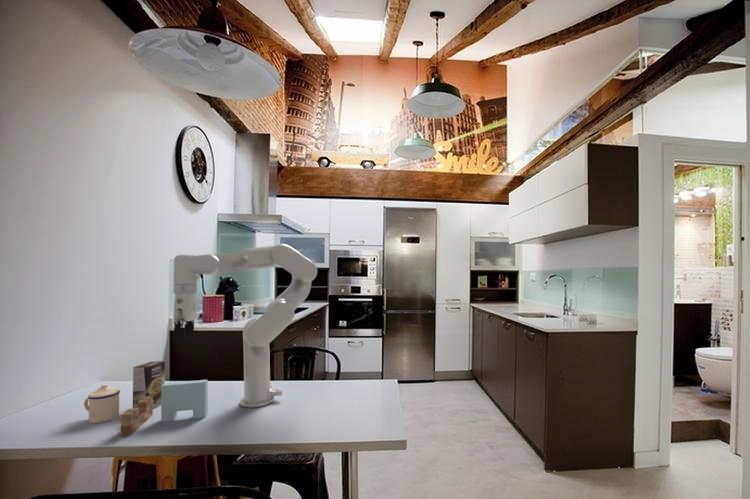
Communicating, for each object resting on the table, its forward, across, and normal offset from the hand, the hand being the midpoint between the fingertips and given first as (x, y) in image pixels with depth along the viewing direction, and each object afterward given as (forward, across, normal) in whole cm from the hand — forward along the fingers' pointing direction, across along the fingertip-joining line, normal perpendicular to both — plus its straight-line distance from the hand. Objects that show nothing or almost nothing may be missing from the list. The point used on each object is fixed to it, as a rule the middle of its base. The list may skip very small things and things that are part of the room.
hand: (184, 336), depth 129 cm
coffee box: (+28, +12, +16) cm, 34 cm away
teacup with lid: (+28, +4, +28) cm, 40 cm away
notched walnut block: (+28, -5, +12) cm, 31 cm away
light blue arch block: (+27, -3, -2) cm, 28 cm away
